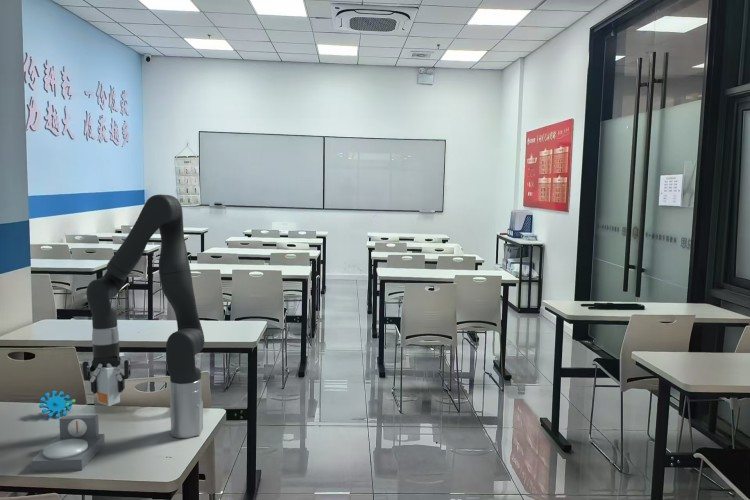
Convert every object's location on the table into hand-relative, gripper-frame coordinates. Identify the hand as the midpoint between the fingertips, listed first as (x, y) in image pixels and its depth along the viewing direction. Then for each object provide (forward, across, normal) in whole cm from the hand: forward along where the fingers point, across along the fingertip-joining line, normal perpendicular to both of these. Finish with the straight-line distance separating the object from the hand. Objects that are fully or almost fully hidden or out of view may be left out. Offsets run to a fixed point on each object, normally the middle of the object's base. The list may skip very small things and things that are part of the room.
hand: (108, 392), depth 181 cm
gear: (+12, +22, -15) cm, 29 cm away
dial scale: (+12, +5, +19) cm, 23 cm away
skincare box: (+4, 0, 0) cm, 4 cm away
